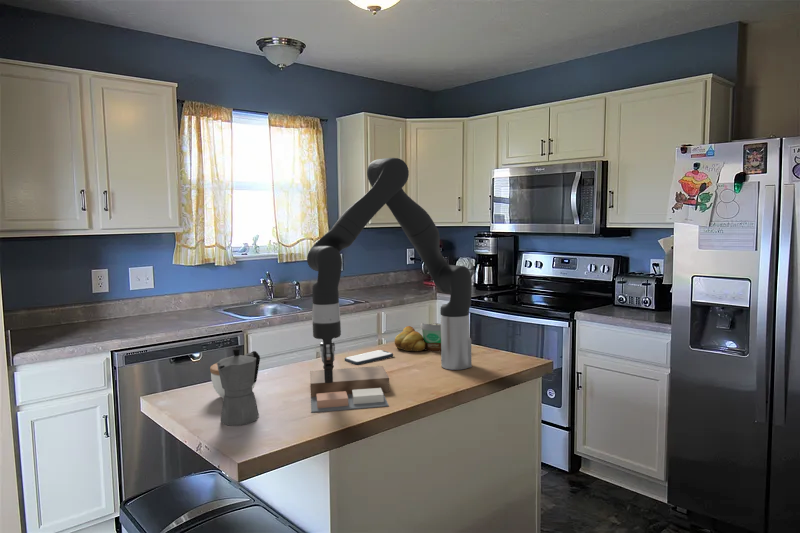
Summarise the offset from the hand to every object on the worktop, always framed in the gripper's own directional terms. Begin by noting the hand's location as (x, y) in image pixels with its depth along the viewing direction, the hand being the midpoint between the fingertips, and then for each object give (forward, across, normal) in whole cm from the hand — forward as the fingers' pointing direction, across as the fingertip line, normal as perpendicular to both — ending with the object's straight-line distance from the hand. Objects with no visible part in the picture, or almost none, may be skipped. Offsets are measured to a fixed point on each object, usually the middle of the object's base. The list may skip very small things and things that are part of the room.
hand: (328, 382), depth 150 cm
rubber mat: (+5, -4, -5) cm, 8 cm away
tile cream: (+4, -4, -10) cm, 11 cm away
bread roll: (+5, +50, -32) cm, 60 cm away
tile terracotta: (+4, -4, -1) cm, 6 cm away
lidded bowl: (+5, +9, +26) cm, 28 cm away
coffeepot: (+5, -9, +22) cm, 24 cm away
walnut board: (+5, +9, -6) cm, 12 cm away
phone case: (+5, +41, -16) cm, 44 cm away
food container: (+5, +46, -41) cm, 62 cm away
